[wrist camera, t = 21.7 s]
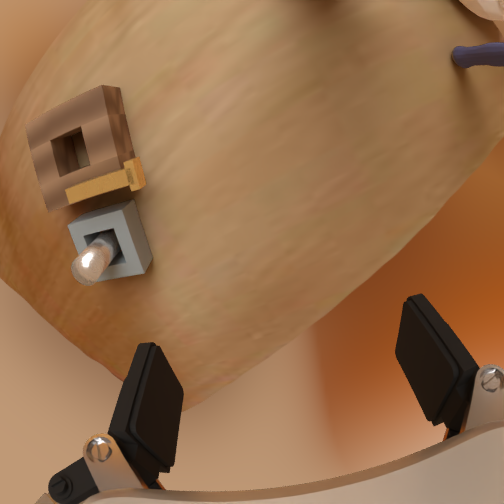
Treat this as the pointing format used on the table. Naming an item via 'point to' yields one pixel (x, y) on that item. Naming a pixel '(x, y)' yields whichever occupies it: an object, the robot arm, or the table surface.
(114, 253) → the steel peg
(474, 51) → the rubber mallet
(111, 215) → the grey square ring block
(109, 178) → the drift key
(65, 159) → the socket block
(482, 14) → the decorative rooster
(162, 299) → the table surface
